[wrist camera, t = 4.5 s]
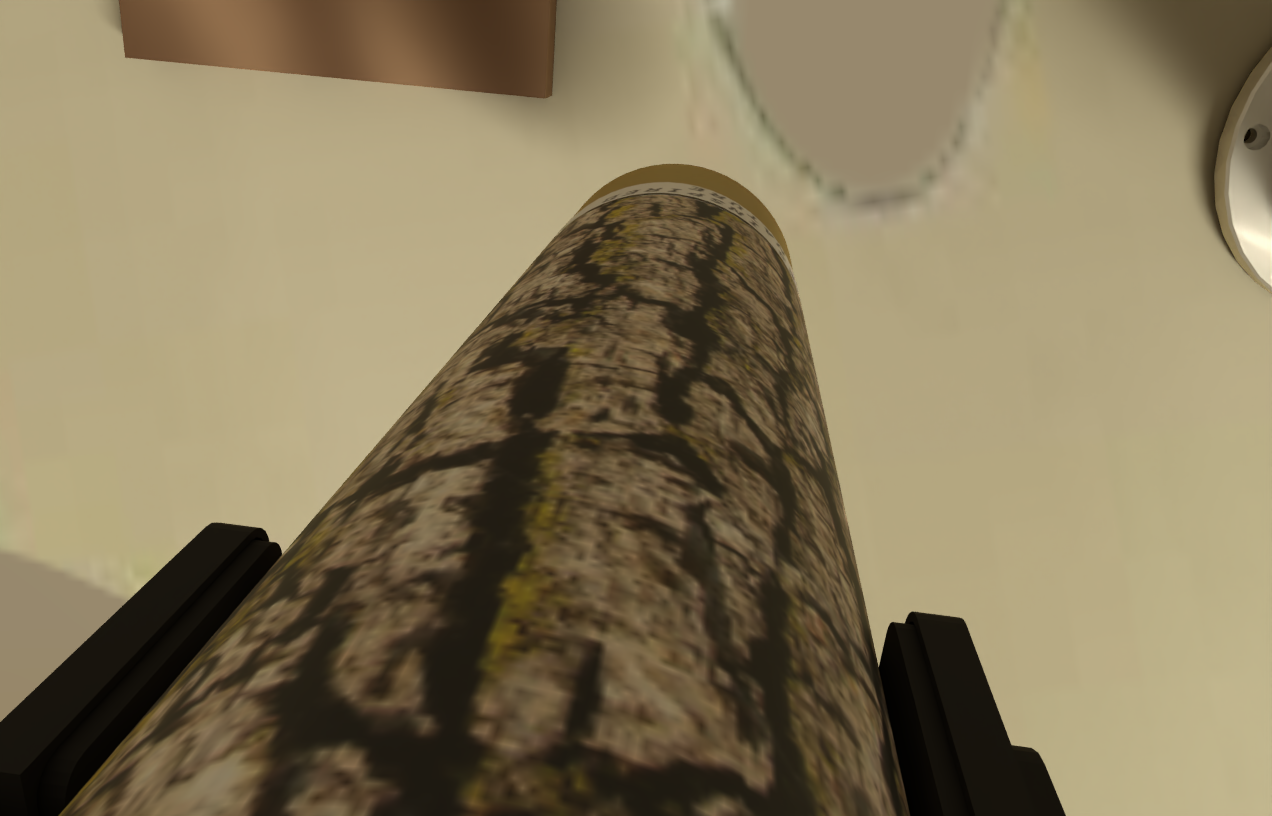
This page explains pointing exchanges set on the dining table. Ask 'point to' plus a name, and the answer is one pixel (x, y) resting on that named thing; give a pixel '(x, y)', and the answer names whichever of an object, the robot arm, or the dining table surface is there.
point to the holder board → (357, 39)
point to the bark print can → (563, 568)
